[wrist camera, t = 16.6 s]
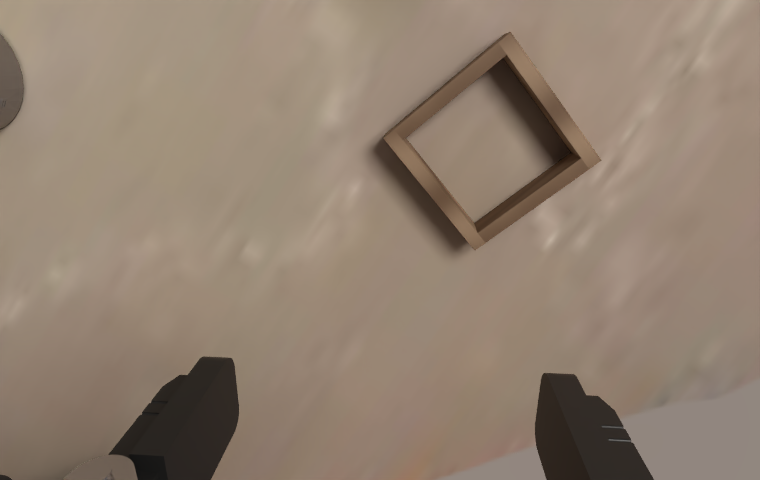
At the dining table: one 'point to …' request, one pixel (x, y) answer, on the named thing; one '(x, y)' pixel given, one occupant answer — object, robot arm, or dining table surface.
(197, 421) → the robot arm
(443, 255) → the dining table surface
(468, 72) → the brown wooden square frame
